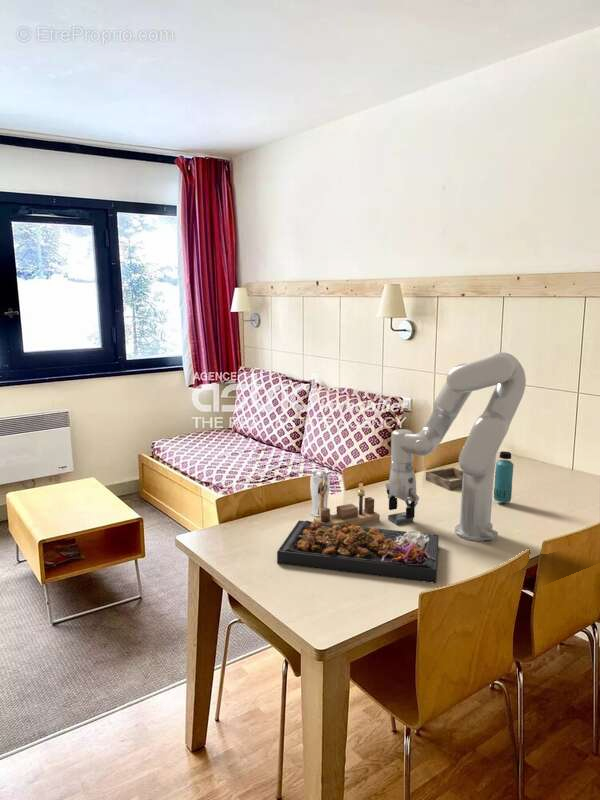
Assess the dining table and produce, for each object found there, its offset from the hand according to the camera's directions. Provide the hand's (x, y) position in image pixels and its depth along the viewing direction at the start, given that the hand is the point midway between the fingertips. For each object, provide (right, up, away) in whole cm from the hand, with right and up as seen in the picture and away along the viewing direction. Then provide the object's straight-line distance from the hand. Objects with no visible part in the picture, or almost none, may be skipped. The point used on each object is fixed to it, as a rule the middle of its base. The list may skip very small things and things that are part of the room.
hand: (401, 513), depth 201 cm
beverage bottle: (+41, 0, +18) cm, 45 cm away
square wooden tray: (+28, +5, +43) cm, 51 cm away
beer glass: (-28, -2, +6) cm, 29 cm away
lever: (-14, +7, +2) cm, 16 cm away
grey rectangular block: (0, -3, 0) cm, 3 cm away
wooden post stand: (-19, -3, -2) cm, 19 cm away
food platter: (-17, -8, -26) cm, 32 cm away
